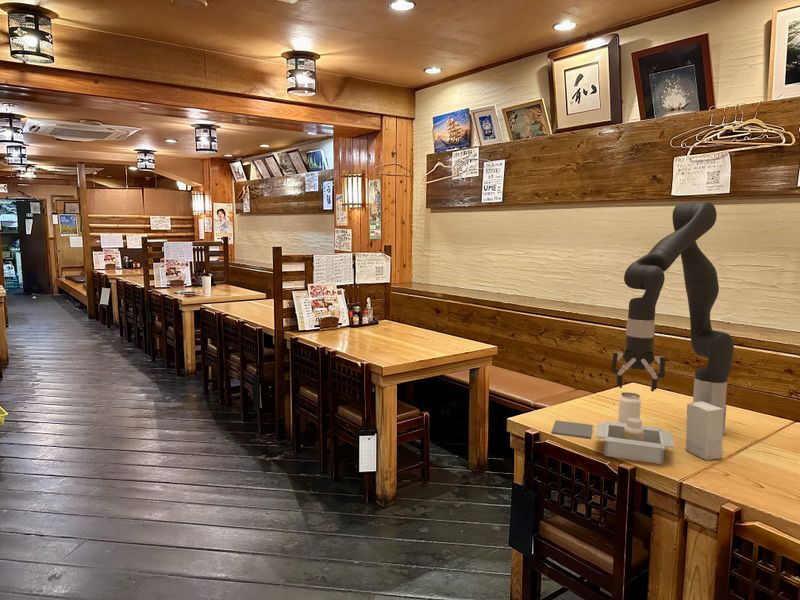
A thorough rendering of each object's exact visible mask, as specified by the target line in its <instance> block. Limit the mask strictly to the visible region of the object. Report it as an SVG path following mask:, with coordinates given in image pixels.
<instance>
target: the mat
mask: <svg viewBox="0 0 800 600" xmlns="http://www.w3.org/2000/svg"><path fill="white" fill-rule="evenodd" d="M593 427H594V425H593V424H587V423H580V422H572V421H565V420H555V421H554V424H553V426H552V429H551V433H550V434H552V435H560V436H567V437H575V438H582V439H587V440H588V439H589V440H591V439H592V433H593Z"/></svg>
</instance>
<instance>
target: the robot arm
mask: <svg viewBox="0 0 800 600" xmlns="http://www.w3.org/2000/svg"><path fill="white" fill-rule="evenodd" d="M717 215H718V214H717V209H716V206H715V205H714V204H713V203H712V202H710V201H707V200H706V201H703V200H701V201H692V202H683V203H682V202H681V203H679V204H677V205H676V206H675V207H674V208H673V211H672V215H671V216H672V218H671V219H672V226H673V229H674V230H673V231H674V232H672V233H670V234H668V235H666V236H665V237H663V238H662V239H660V240H659V241H658V242H657V243H656V244H654V246H653V247H652V248H651V250H650V251H649V252H648V253H647V254H644V255H643V256H641V257H640V258H638V259H636V260H635V261H633V262H632V263H631V264H630V265H629V266H627V268H626V269H625V272H624V275H623V280H624V281H623V282H624V284H625V286H627V288H630V289H633V290H642V291H644V293H643V294H642V296H641V297H633V298H631V299H630V300H629V304H628V314H627V315H628V316H627V322H626V329H625V346H624V352H623V353H622V352H618V351H616V350H615V351H613V354H612V362H611V369H610V370H611V373H613V374H615V375H616V376H617V380H616V385H617V386H618V387H619V389H623V378H624V376H623V374H624V373H625V372H627V370H629V368H630V369H632V370H641V371H644V370H646V371H647V372H648V373H649V374H650V375H651V384H650V392H655V391H656V390H657V389H658V380H659V379H661V378H662V379H663V378H665V376H666V375H665V374H666V368H665V367H666V357H665V356H664V355H662V354H661V355H659V356H658V355H654V347H655V336H656V332H655V330H656V325H655V323H656V322H655V319H656V318H655V317H656V307H657V303H658V300H659V297H660V294H661V291H662V289H663V286H664V283H665V276H666V275H665V273H664V272H666V271H667V270H668V269H670V268H671V266H672V265H673V264H674V262H675V261H676V260H677V259H678V258H679V256H680V258H681V265H682V269H683V279H684V284H685V285H684V287H685V291H686V296H687V303H688V304H687V305H688V312H689V320H690V321H689V324H690V343H691V348H692V350H693V352H694V353H695V354H696V355H697V356H699V357H703V358H707V364H706V366H705V367H698V368H696V369H695V372H694V381H693V382H694V383H693V397H692V403H694V402H705V403H708V404H711V405H714V406H717V407H720V408H723V436H724V435H725V430H726V418H727V405H726V401H727V400H726V399H727V387H728V379H729V378H728V377H729V376H730V372H731V370H732V366H733V365H732V363H733V358H734V357H733V356H734V349H735V344H734V339H733V337H732V336H731V334H730V333H727V332H724V331H718V330H714V329H713V328H712V322H711V312H712V311H711V310H712V308H713V307H714V304H715V303H716V300H717V298H718V295H719V291H720V285H719V280H718V278H719V277H718V273H717V270H716V267H715V265H714V264H713V263H712V262H711V261H710V259H709V258H708V257H707V256H706V255H705V253H704V252H702V250H701V249H700V247H699V245H698V243H697V242H696V241H698V240H699V239H700V238H701V237H702V236H704V235H705V234H706V233H708V232H709V231H710V230H711V229H712V228H713V227H714V225H715V224H716V221H717ZM621 358H622V359H623V360H624V361H625V362H624V363H623V365H621V366H620V367H619V368H617V363H618V361H620V359H621ZM654 361H656V363H657V364H658V365H659V371H658V372H656V371H655V370H654V368H653V366H652V364H653V362H654Z"/></svg>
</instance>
